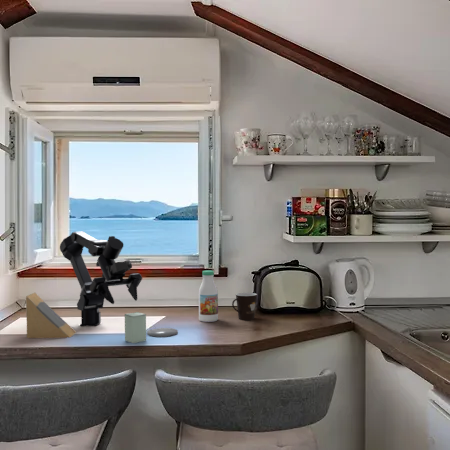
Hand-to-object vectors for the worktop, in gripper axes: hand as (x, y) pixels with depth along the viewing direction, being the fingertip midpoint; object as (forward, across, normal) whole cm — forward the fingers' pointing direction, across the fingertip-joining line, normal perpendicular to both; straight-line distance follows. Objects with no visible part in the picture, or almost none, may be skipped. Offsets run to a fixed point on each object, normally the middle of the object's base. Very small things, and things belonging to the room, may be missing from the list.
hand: (125, 301), depth 178 cm
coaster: (+12, +13, +6) cm, 18 cm away
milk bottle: (+8, +38, +10) cm, 41 cm away
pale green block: (+13, 0, +4) cm, 14 cm away
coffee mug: (+14, +50, +4) cm, 52 cm away
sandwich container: (-6, -18, +24) cm, 30 cm away
